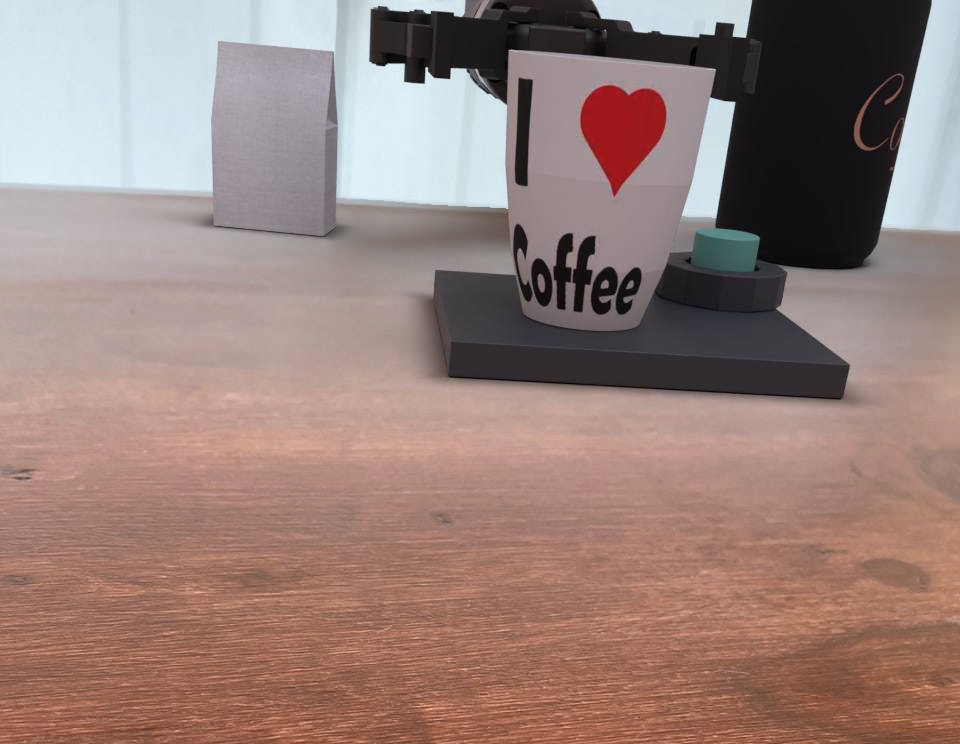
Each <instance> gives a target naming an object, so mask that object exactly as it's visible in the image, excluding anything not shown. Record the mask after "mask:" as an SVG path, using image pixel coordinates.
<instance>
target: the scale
mask: <svg viewBox="0 0 960 744" xmlns="http://www.w3.org/2000/svg"><path fill="white" fill-rule="evenodd" d="M692 252H693V251H680V252H679V251H678V252H677V251H676V252H670V254H669V258H668V261H667V264H666V267H665V269H664V271H663V273H662V276H661V278H660V280H659V282H658V284H657V286H656V289H655V291H654V293H653V295H652V297H651V300H650V302H649V304H648V306H647V308H646V310H645V313H644V315H643V317H642V319H641V321H640V324H639V325H638V326H637V327H635V328H632V329H627V330H619V331H591V330H579V329H571V328H564V327H559V326H554V325H549V324H545V323H542V322H539V321H536V320H533V319H531V318H529V317H527V316H526V315H524V313H523V310H522V305H521V300H520V295H519V289H518V284H517V279H516V274H505V273H491V272H474V271H459V270H446V269H445V270H444V269H435V270H434V282H433V302H434V309H435V314H436V318H437V323H438V328H439V333H440V338H441V343H442V348H443V353H444V358H445V364H446V368H447V375H448V376H449V377H455V378H456V377H459V378H473V379H474V378H475V379H476V378H477V379H491V380H492V379H493V380H508V381H509V380H511V381H531V382H543V383H544V382H546V383H562V384H563V383H564V384H565V383H566V384H580V385H597V386H598V385H600V386H617V387H618V386H619V387H633V388H635V387H636V388H652V389H666V390H667V389H670V390H687V391H688V390H689V391H705V392H719V393H720V392H721V393H741V394H756V395H757V394H758V395H772V396H773V395H774V396H775V395H776V396H794V397H809V398H827V399H828V398H829V399H843V398H844V395H845V391H846V386H847V382H848V377H849V373H850V369H851V364H850V363H849V362H847V361H846V360H845V359H844V358H842V357H841V356H839V355H838V354H837V353H835V352H834V351H832V350H831V349H830V348H828V346H826V345H825V344H823V343H822V342H821V341H819V340H818V339H817V338H815V337H814V336H813V335H812V334H810V333H809V332H808V331H806V330H805V329H803V328H802V326H800V325H798V323H795V321H793V320H792V319H790V318H789V317H788V316H786V315H785V314H784V313H782V312H781V311H780V310H778V308H779V307H780V306H782V303H783V297H784V292H785V291H784V290H785V287H786V281H787V276H788V271H787V270H786V269H784V268H783V267H780V265H777V264H776V263H772V262H767V261H761V260H757V259H756V263H755V268H754V272H735V271H721V270H715V269H709V268H702V267H699V266H695V265H692V264H691V258H692Z"/></svg>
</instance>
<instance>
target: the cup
mask: <svg viewBox="0 0 960 744" xmlns="http://www.w3.org/2000/svg"><path fill="white" fill-rule="evenodd" d="M715 72H716V69H711V68H704V67H696V66H688V65H679V64H670V63H660V62H650V61H640V60H630V59H620V58H609V57H598V56H587V55H576V54H564V53H551V52H538V51H523V50H509V58H508V90H507V105H506V124H505V125H506V129H505V156H504V157H505V159H504V160H505V161H504V165H505V181H506V182H505V183H506V195H507V196H506V197H507V212H508V213H507V214H508V227H509V244H510V253H511V258H512V264H513V268H514V275H516V279H517V284H518V289H519V295H520V300H521V305H522V310H523V313H524V315H526V316H527V317H529V318H531V319H533V320H536V321H539V322H542V323H545V324H549V325H554V326H559V327H564V328H571V329H579V330H591V331H619V330H627V329H632V328H635V327H637V326H638V325H639V324H640V321H641V319H642V317H643V315H644V313H645V310H646V308H647V306H648V304H649V302H650V300H651V297H652V295H653V293H654V291H655V289H656V286H657V284H658V282H659V280H660V278H661V276H662V273H663V271H664V269H665V267H666V264H667V261H668V258H669V254H670V253H671V251H672V248H673V245H674V243H675V242H674V241H675V238H676V235H677V232H678V228H679V225H680V223H681V219H682V217H683V212H684V210H685V207H686V203H687V200H688V197H689V193H690V190H691V187H692V184H693V180H694V175H695V170H696V166H697V161H698V156H699V153H700V148H701V142H702V137H703V133H704V128H705V124H706V119H707V114H708V110H709V104H710V100H711V98H710V95H711V91H712V86H713V81H714V77H715Z"/></svg>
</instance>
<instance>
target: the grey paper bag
mask: <svg viewBox="0 0 960 744" xmlns="http://www.w3.org/2000/svg"><path fill="white" fill-rule="evenodd" d="M216 57H217V58H216V67H215V79H214V87H213V96H212V97H213V99H212V106H211V107H212V108H211V116H210V117H211V118H210V128H211V129H210V131H211V134H210V135H211V168H212V169H211V171H212V174H211V175H212V207H213V208H212V209H213V210H212V211H213V212H212V213H213V226H216V227H223V228H225V227H226V228H235V229H247V230H257V231H258V230H259V231H267V232H275V233H277V232H278V233H287V234H295V235H296V234H298V235H307V236H316V237H325V236H326V235H327V234H329V233H330V232H331V231H332V230H334V229H335V228H336V227H337V190H338V189H337V185H338V184H337V183H338V142H339V141H338V138H339V137H338V136H339V123H338V121H339V120H338V108H337V107H338V106H337V93H336V92H337V91H336V90H337V89H336V74H335V73H336V72H335V51H333V50H323V49H312V48H301V47H291V46H289V47H288V46H277V45H269V44H259V43H258V44H257V43H245V42H234V41H223V40H218V41H217V56H216Z"/></svg>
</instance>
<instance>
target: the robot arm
mask: <svg viewBox="0 0 960 744" xmlns="http://www.w3.org/2000/svg"><path fill="white" fill-rule="evenodd" d="M464 1H465V2H464V13H463V15H462V16H458V15H455V12H453V11H442V10H441V11H440V10H430V13H428V12H426V11H425V10H424V9H416V8H415V9H413V10H409V11H406V10H405V11H403V10H393V9H392V10H391V9H390V8H389V6H385V5H384V6H383V5H377V7H376V6H375V7H372V8H370V14H369V15H370V20H369V21H370V22H369V49H368V50H369V51H368V52H369V53H368V54H369V55H368V59H369V60H368V62H369V63H371V64H372V65H375V66H376V67H386V66H388V65H404V67H403V68H404V71H403V83H409V84H421V85H425V84H426V69H427V73H429V74H430V75H431V77H432V78H433V79H439V80H440V79H442V80H451V75H452V69H461V70H463V69H465V70H466V73H467V74H468V75H469V78H470V79H471V81H472V82H473V83H474V85H476V86H477V87H478V88H479V89H480V90H482V91H483V92H484V94H487V95H491V96H492V97H493V98H494V99H495V100H499V101H500V102H501V103H503V104H504V105H506V106H507V90H508V58H509V50H523V51H538V52H551V53H564V54H576V55H587V56H598V57H609V58H620V59H630V60H640V61H650V62H660V63H670V64H679V65H688V66H696V67H704V68H711V69H716V72H715V77H714V81H713V86H712V91H711V95H710V99H714V100H719V101H721V102H729V103H735V102H740V98H741V96H747V95H752V94H754V91H755V85H756V79H757V73H758V67H759V61H760V55H761V49H762V43H760V42H761V41H756V39H750V38H746V37H743V36H742V37H741V36H734V33H735V32H734V31H735V25H736V24H735V23H732V22H721V21H716V22H715V28H714V34H704V33H699V35H698V36H689V35H688V36H687V35H677V34H664V33H662V32H661V31H660V30H651V31H648V32H642V31H635V30H634V27H633V26H632V25H633V24H632V23H631V22H630V21H628V20H623V19H611V18H602V17H601V14H600V12H599V10H598V8H597V6H596V4H595V2H594V1H593V0H464ZM755 42H758V43H755Z"/></svg>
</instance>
